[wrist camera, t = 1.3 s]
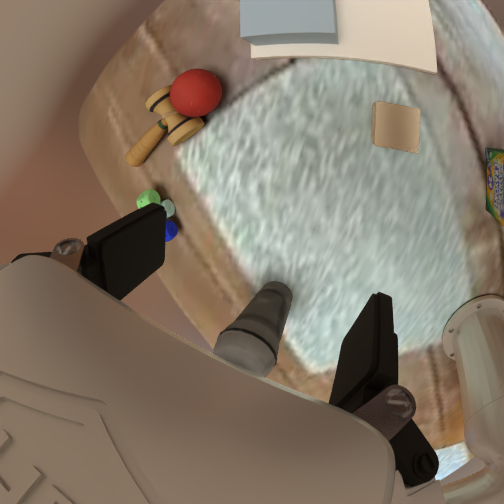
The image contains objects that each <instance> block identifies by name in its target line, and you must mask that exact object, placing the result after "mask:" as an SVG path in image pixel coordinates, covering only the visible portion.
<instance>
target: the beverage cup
mask: <svg viewBox="0 0 504 504" xmlns="http://www.w3.org/2000/svg"><path fill="white" fill-rule="evenodd" d="M291 301H292V293H291V291H290V289H289V288H288V287H287V286H286V285H284V284H282V283H279V282H269V283H267V284H266V285H265V286H264V287H263V288H262V289H261V290H260V291H259V292H258V293H257V294H256V296H255V297H254V298H253V299H252V301H251V302H250V303H249V304H248V305H247V307H246V308H245V309H244V310H243V311H242V313H241V314H240V315H239V316H238V317H237V319H236V320H235V321H234V322H233V323H232V324H230V325H229V326H228V327H227V328H226V329H225V330H224V331H222V332H221V333H220V334H219V336H218V339H217V342H216V344H215V347H214V352H213V354H215V355H217V356H219V357H221V358H223V359H225V360H227V361H229V362H231V363H233V364H235V365H238V366H240V367H242V368H244V369H246V370H249V371H251V372H253V373H255V374H258V375H260V376H262V377H264V378H265V377H266V376H267V375H268V374H269V373H270V371H271V370H272V368H273V367H274V366H275V365H276V362H277V354H278V349H279V343H280V340H281V336H282V333H283V330H284V326H285V323H286V320H287V316H288V313H289V310H290V306H291Z"/></svg>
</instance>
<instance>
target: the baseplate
mask: <svg viewBox="0 0 504 504" xmlns="http://www.w3.org/2000/svg"><path fill="white" fill-rule="evenodd" d="M240 33H241V38H243V39H244V40H246V41H248V42H250V43H251V58H252V59H254V60H261V59H279V58H324V59H342V60H354V61H363V62H371V63H379V64H385V65H392V66H397V67H403V68H408V69H412V70H417V71H421V72H426V73H430V74H433V75H434V74H436V73H437V63H436V50H435V41H434V32H433V25H432V19H431V13H430V7H429V2H428V0H240Z"/></svg>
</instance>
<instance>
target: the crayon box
mask: <svg viewBox="0 0 504 504" xmlns="http://www.w3.org/2000/svg"><path fill="white" fill-rule="evenodd" d="M486 163H487V195H486V210H487V211H488V212H489V213H490V214H491V215H492V216H494V217H495V218H496V219H497V220H498V221H499V222H500V223H501V224H502V225H503V226H504V150H502V149H491V148H486Z"/></svg>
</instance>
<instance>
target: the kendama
mask: <svg viewBox="0 0 504 504" xmlns="http://www.w3.org/2000/svg"><path fill="white" fill-rule="evenodd" d="M221 97H222V87H221V84H220V81H219V80H218V77H217V76H215V75H214V74H212V73H211V72H209V71H207V70H203V69H191V70H188V71H186V72H184V73H182V74H181V75H179V76H178V77H177V78H176V79H175V81H174V82H173V84H172V85H169V86H166V87H164V88H162V89H160V90H158V91H157V92H155V93H154V94H153V95H152V96H151V97H150V98H149V99H148V100H147V102H146V107H147V109H148V110H149V111H150V112H155V113H158V114H160V115H161V117H162V119H161V120H160V121H159V122H157V123H156V124H155V125H154V126H152V127H151V128H150V129H149V130H148V131H147V132H146V133H145V134H144V135H143V136H142V137H141V138H140V139H139V141H138V142H137V143H136V144H135V145H134V146H133V147H132V148H131V149H130V150H129V151H128V152H127V154H126V161H127V163H128V164H129V165H131V166H134V167H138V166H140V165H141V164H142V163H143V162H144V160H145V159H146V157H147V156H148V154H149V153H150V152H151V150H152V149H153V148H154V147H155V145H156V144H157V143H158V142H159V140H160V139H161V137H162V136H163V134H164V133H165V131H166V130H167V128H168V130H169V133H168V141H169V142H170V144H171V145H172V146H176V145H178V144H180V143H182V142H183V141H185V140H186V139H188V138H189V137H191V136H192V135H193V134H195V133H196V132H197V131H198V130H200V129H201V128H202V127H203V126H204V122H203V121H202V119H201V118H200V116H204V115H206V114H208V113H210V112H211V111H213V110H214V109H215V108H216V107H217V105H218V104H219V102H220V100H221Z"/></svg>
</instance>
